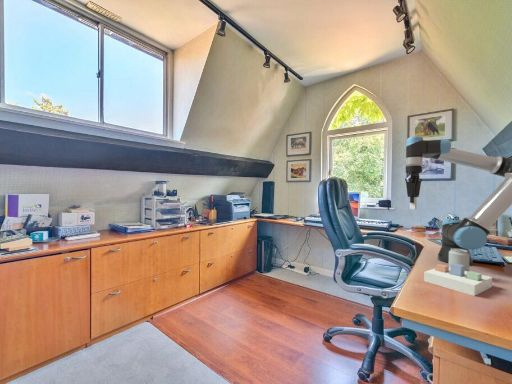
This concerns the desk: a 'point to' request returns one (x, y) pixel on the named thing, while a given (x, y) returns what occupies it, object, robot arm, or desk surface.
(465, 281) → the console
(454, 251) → the can
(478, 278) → the sage button
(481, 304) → the desk surface
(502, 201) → the robot arm
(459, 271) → the slate button
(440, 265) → the terracotta button
